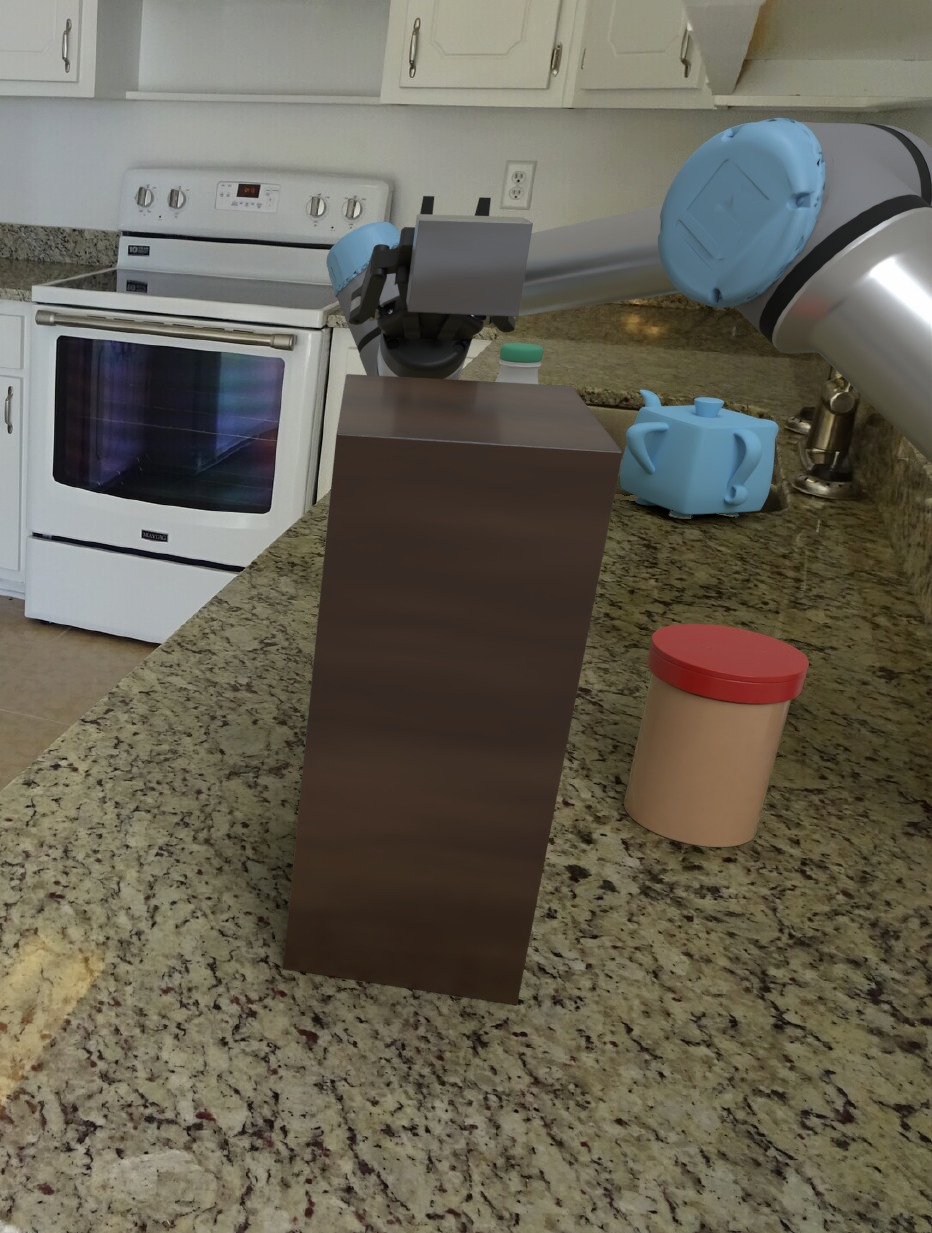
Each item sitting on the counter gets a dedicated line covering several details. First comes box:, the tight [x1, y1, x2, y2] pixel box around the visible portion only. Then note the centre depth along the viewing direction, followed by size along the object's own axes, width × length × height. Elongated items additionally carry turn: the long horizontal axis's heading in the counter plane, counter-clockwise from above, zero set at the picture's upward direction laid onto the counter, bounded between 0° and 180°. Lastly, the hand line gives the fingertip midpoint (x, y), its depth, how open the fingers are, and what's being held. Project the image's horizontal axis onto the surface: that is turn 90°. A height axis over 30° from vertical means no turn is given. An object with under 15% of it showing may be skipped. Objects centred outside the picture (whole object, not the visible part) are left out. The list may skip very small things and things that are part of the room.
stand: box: [282, 373, 624, 1005], centre depth 67 cm, size 16×12×29 cm
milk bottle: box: [494, 342, 544, 384], centre depth 145 cm, size 8×8×20 cm
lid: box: [646, 623, 810, 704], centre depth 78 cm, size 9×9×2 cm
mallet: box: [406, 213, 534, 318], centre depth 82 cm, size 29×6×5 cm, turn 166°
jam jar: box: [623, 672, 792, 848], centre depth 80 cm, size 8×8×12 cm
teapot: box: [619, 389, 780, 517], centre depth 151 cm, size 18×16×14 cm
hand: (455, 215), depth 86 cm, fingers closed on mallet, 3 cm apart
